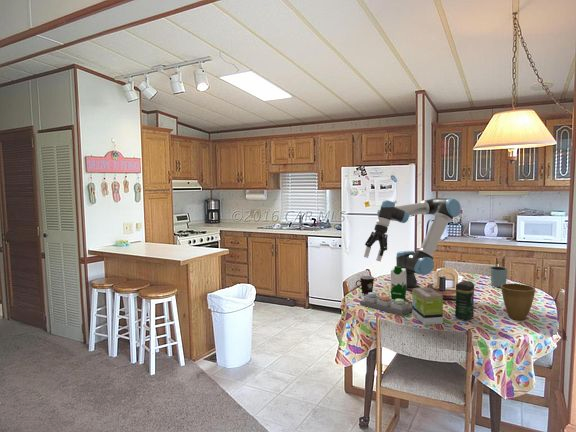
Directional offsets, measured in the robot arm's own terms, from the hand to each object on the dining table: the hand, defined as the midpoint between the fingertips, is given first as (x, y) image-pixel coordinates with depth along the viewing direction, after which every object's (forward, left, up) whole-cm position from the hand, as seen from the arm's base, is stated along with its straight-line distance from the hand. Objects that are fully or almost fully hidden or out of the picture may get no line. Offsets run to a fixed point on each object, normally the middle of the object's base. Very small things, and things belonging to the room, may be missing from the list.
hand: (371, 259), depth 238 cm
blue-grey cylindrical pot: (-88, -10, -24) cm, 91 cm away
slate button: (+4, +12, -20) cm, 24 cm away
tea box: (-16, +41, -24) cm, 50 cm away
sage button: (-7, +27, -20) cm, 34 cm away
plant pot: (-61, +46, -24) cm, 80 cm away
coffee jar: (-36, +41, -24) cm, 59 cm away
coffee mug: (+1, -11, -24) cm, 26 cm away
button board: (-2, +19, -24) cm, 31 cm away
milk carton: (-15, +5, -24) cm, 28 cm away
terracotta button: (-2, +19, -20) cm, 28 cm away
